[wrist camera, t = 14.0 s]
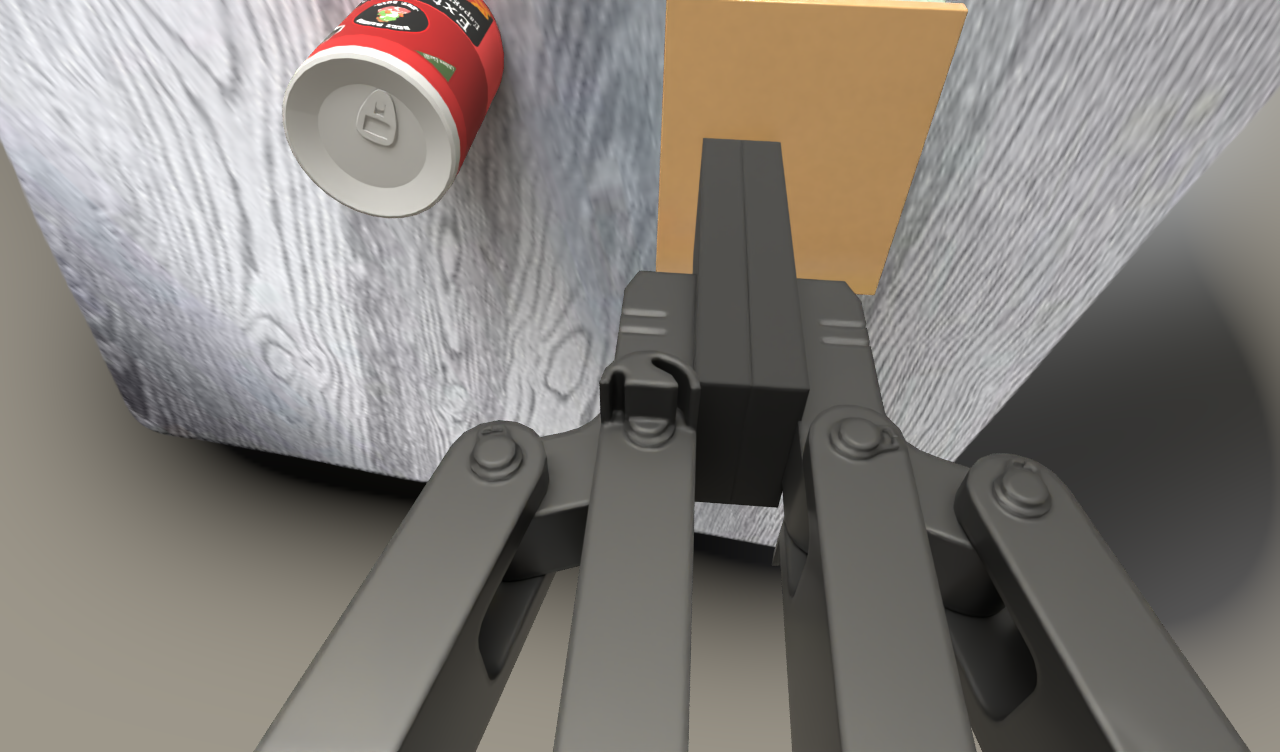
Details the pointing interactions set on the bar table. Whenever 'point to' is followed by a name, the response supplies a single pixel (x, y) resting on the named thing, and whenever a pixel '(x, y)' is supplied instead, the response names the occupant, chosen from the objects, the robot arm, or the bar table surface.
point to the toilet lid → (806, 116)
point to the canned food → (394, 102)
